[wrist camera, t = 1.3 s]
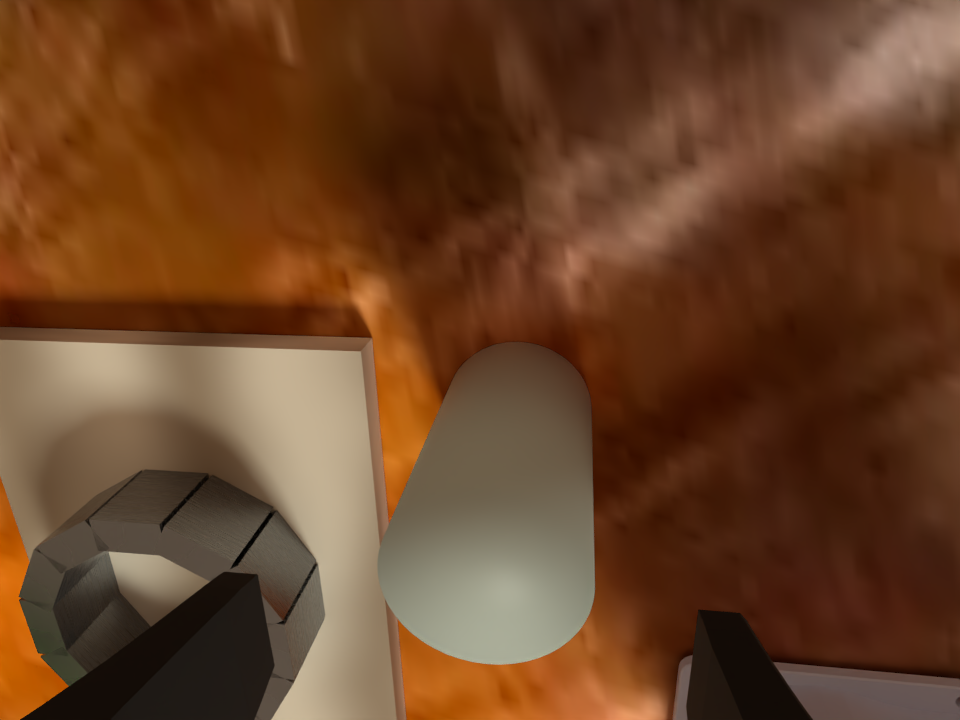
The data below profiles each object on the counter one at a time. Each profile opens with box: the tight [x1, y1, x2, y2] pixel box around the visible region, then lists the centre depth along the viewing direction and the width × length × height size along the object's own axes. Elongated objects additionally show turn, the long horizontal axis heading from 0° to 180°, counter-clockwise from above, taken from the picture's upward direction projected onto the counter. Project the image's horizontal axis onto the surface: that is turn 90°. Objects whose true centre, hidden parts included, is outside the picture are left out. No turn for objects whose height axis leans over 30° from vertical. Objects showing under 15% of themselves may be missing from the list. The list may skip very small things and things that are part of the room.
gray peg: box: [377, 342, 595, 664], centre depth 16 cm, size 4×4×7 cm
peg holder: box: [0, 327, 406, 720], centre depth 22 cm, size 12×22×4 cm, turn 1°
